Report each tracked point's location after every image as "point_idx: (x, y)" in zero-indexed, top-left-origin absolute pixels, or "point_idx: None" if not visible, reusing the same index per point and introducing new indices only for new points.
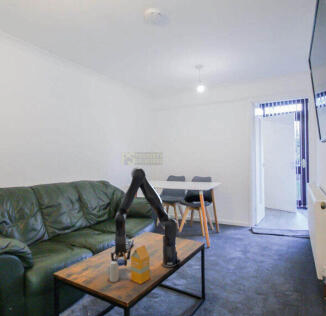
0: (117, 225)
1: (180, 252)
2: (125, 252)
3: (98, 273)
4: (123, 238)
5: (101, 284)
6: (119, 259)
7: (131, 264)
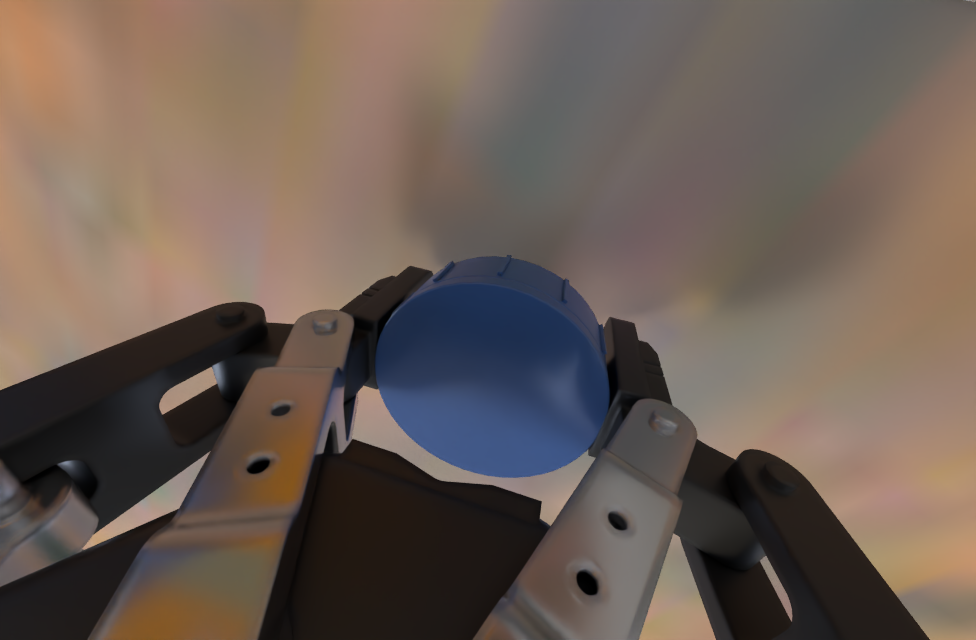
0: None
1: None
2: (59, 595)
3: (955, 413)
4: None
5: None
6: (468, 463)
7: None
